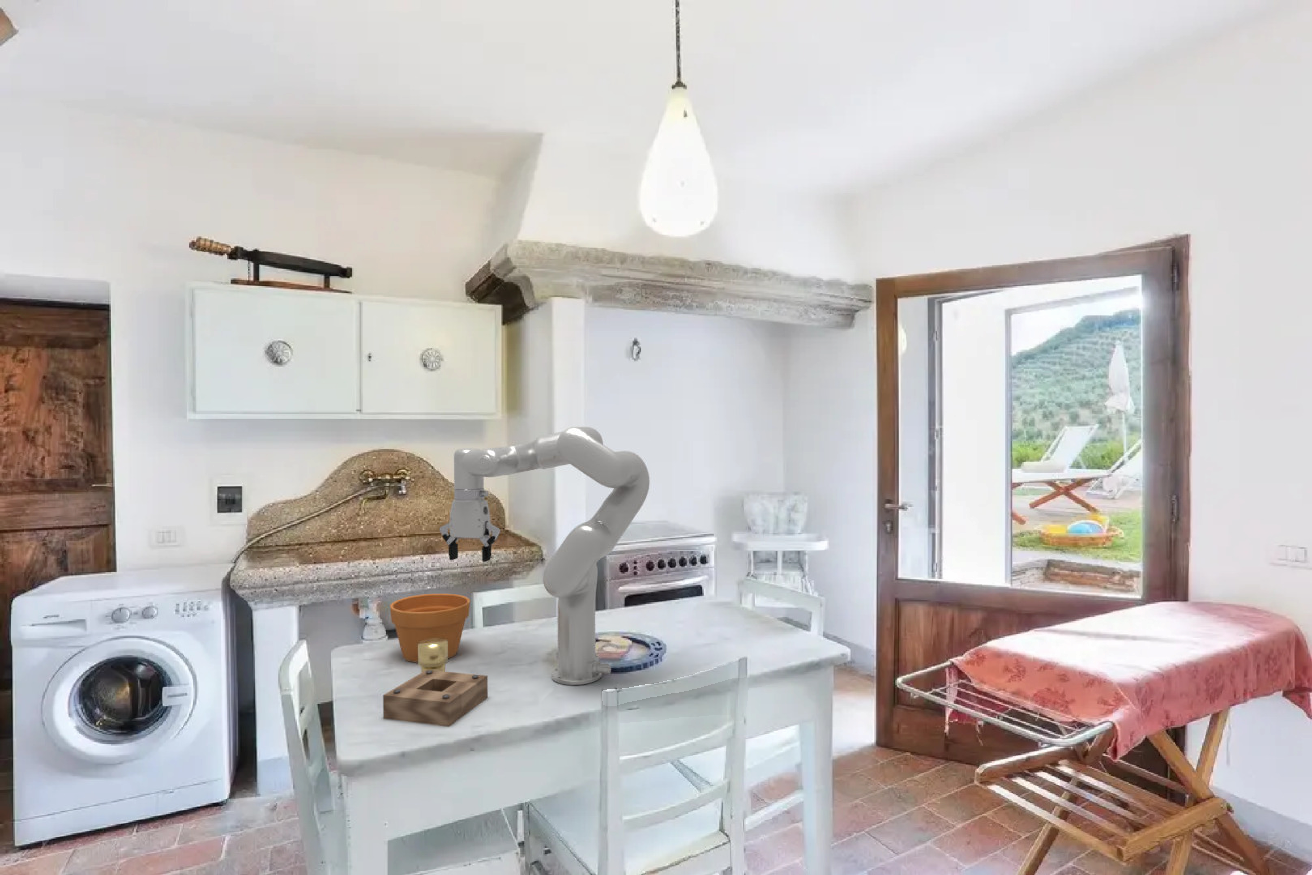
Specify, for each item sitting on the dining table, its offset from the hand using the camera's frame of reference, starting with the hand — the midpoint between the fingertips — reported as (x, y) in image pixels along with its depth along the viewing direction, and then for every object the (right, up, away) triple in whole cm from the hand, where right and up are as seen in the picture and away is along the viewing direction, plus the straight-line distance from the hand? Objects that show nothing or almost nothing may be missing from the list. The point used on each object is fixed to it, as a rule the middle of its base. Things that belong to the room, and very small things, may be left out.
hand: (469, 560), depth 183 cm
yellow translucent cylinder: (-6, -29, -11) cm, 31 cm away
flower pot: (-14, -29, +10) cm, 33 cm away
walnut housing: (0, -29, -29) cm, 41 cm away
